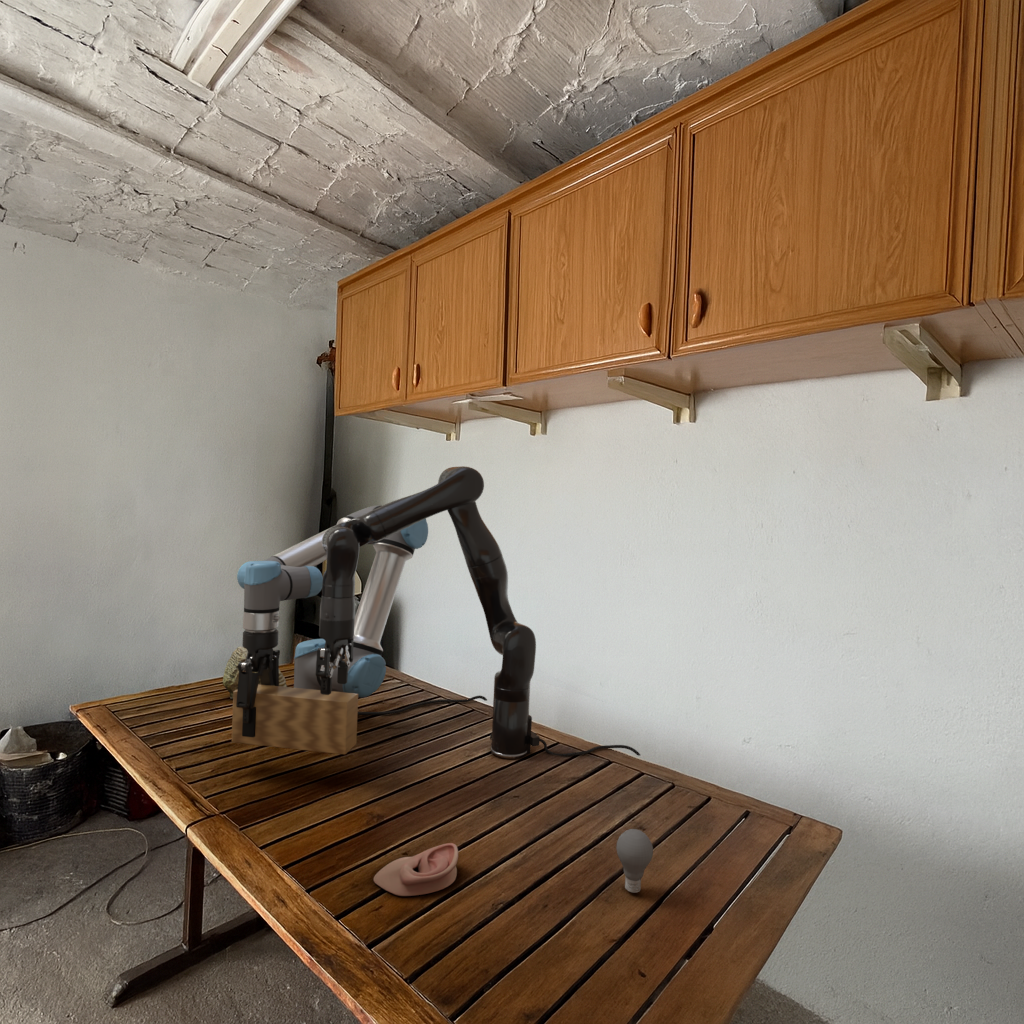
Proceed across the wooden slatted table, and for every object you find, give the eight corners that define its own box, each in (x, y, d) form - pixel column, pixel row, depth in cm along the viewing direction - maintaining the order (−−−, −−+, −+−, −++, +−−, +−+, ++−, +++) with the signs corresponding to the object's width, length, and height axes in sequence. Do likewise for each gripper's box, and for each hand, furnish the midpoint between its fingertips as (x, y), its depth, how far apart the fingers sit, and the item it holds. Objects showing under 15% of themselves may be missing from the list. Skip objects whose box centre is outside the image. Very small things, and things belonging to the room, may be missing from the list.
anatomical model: (366, 866, 102) (393, 830, 114) (365, 890, 103) (392, 852, 114) (444, 879, 100) (464, 841, 111) (443, 904, 100) (463, 864, 111)
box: (231, 742, 141) (233, 691, 141) (247, 732, 148) (249, 683, 147) (345, 754, 137) (347, 702, 137) (356, 743, 144) (358, 693, 143)
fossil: (218, 695, 195) (220, 647, 195) (278, 685, 208) (279, 640, 207) (228, 703, 189) (230, 653, 188) (289, 692, 201) (290, 645, 201)
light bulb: (610, 879, 108) (613, 822, 108) (644, 879, 109) (647, 822, 109) (619, 902, 102) (622, 840, 102) (655, 901, 103) (658, 840, 103)
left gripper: (252, 639, 133) (248, 748, 134) (297, 622, 152) (293, 717, 153) (219, 637, 134) (216, 744, 135) (268, 620, 154) (264, 715, 154)
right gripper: (339, 623, 133) (336, 700, 133) (365, 612, 147) (362, 681, 147) (306, 620, 134) (303, 696, 134) (335, 609, 148) (332, 678, 148)
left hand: (257, 730), depth 144 cm, fingers closed on box, 6 cm apart
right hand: (334, 688), depth 141 cm, fingers open, 8 cm apart
